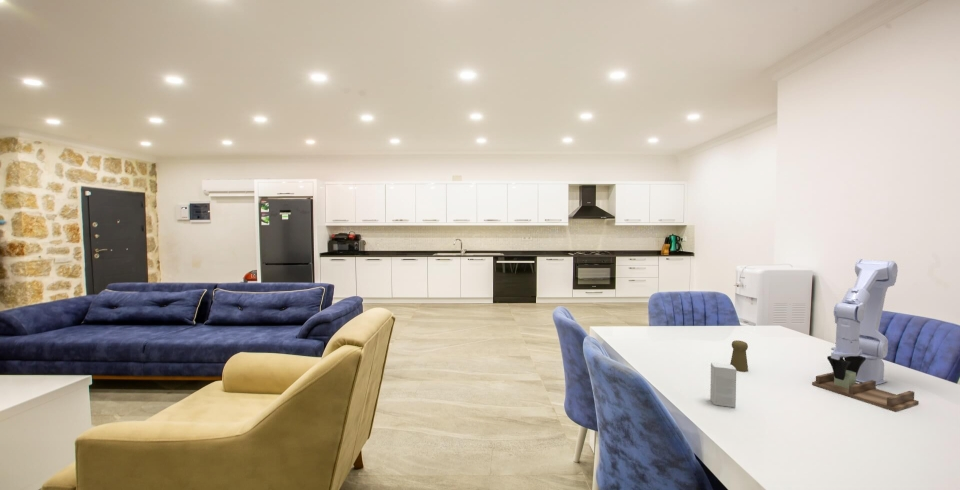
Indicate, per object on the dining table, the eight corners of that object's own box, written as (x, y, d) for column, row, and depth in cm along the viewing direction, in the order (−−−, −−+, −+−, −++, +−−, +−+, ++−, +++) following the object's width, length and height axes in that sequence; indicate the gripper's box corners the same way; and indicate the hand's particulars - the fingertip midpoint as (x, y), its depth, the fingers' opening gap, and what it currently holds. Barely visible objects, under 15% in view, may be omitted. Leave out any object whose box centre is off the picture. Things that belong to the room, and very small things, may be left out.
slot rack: (834, 379, 137) (835, 369, 137) (918, 404, 118) (919, 393, 118) (812, 384, 132) (812, 375, 132) (895, 411, 113) (896, 400, 113)
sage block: (840, 382, 132) (841, 368, 132) (855, 386, 128) (856, 372, 128) (834, 384, 130) (834, 370, 130) (848, 388, 127) (849, 374, 127)
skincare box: (731, 402, 118) (732, 364, 118) (735, 408, 114) (737, 369, 114) (709, 399, 120) (710, 362, 120) (712, 404, 116) (714, 366, 116)
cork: (751, 372, 143) (752, 344, 143) (733, 371, 144) (734, 342, 144) (743, 366, 149) (744, 339, 149) (726, 365, 150) (727, 338, 150)
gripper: (844, 333, 135) (842, 370, 135) (820, 337, 129) (819, 376, 130) (870, 338, 128) (868, 377, 129) (847, 343, 123) (845, 383, 124)
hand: (845, 377), depth 129 cm, fingers open, 7 cm apart
